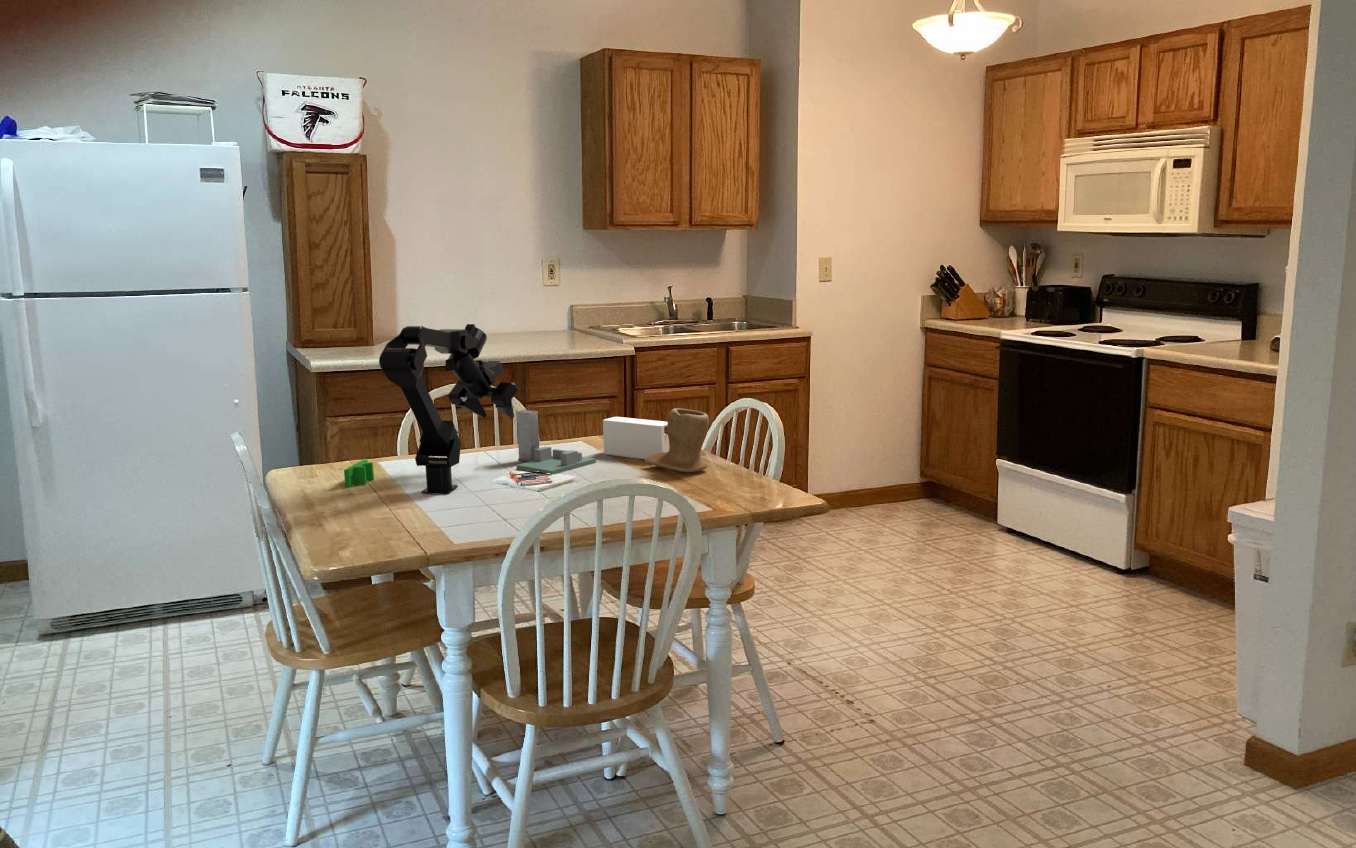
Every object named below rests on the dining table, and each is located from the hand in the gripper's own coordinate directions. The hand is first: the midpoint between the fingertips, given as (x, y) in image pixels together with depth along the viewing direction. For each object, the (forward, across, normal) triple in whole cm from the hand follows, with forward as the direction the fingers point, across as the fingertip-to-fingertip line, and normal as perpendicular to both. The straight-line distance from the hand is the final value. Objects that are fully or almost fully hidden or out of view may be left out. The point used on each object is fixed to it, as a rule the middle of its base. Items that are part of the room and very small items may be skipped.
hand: (499, 417), depth 272 cm
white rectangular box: (+27, -22, -13) cm, 37 cm away
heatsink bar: (+15, -1, +1) cm, 15 cm away
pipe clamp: (-7, +20, +30) cm, 36 cm away
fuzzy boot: (+24, -40, -7) cm, 47 cm away
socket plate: (+15, -11, +2) cm, 19 cm away
